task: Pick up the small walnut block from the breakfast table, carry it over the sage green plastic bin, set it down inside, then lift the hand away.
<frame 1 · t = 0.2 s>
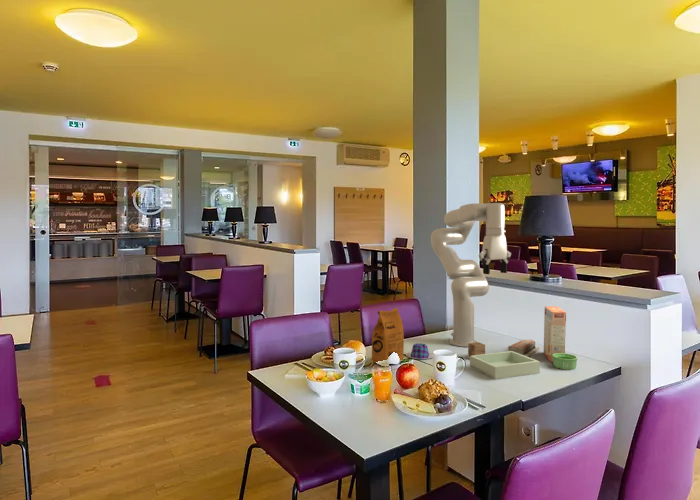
hand: (495, 273, 198), 36 cm above the table, tool pointing down, fingers open, 9 cm apart
ramekin: (564, 367, 186), on the table
walnut block: (476, 357, 199), on the table
cracker box: (554, 358, 198), on the table
purple plaid hat: (419, 357, 203), on the table
packaged product: (522, 353, 208), on the table
bin: (504, 370, 183), on the table
coffee package: (387, 363, 193), on the table
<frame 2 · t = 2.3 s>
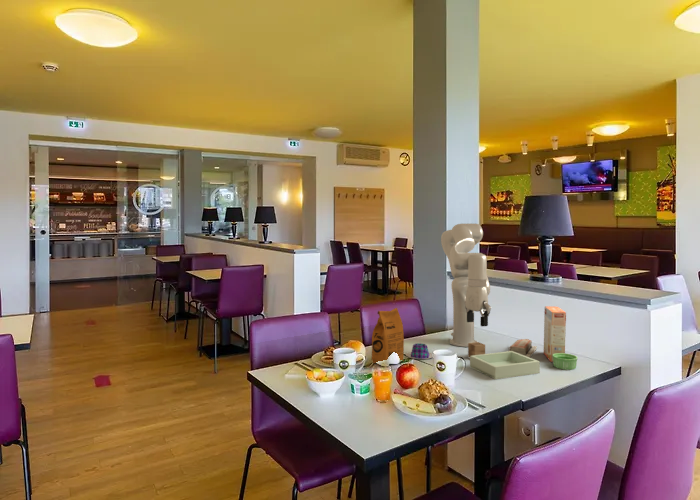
hand: (477, 324, 198), 15 cm above the table, tool pointing down, fingers open, 9 cm apart
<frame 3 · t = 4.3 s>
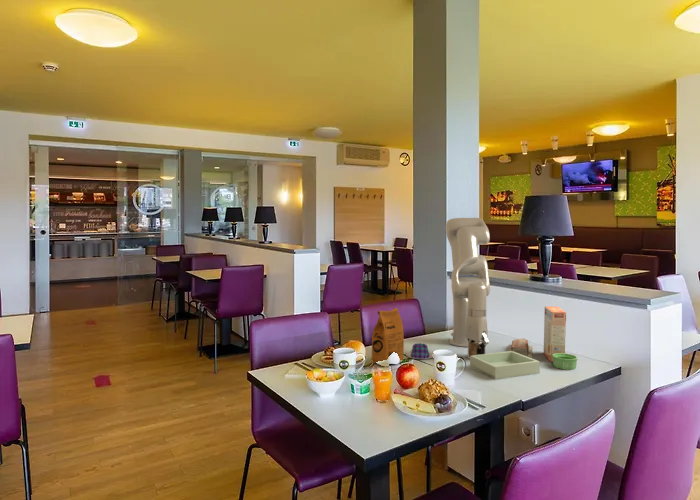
hand: (476, 355, 199), 1 cm above the table, tool pointing down, fingers closed on walnut block, 5 cm apart
walnut block: (476, 357, 199), on the table, touching gripper
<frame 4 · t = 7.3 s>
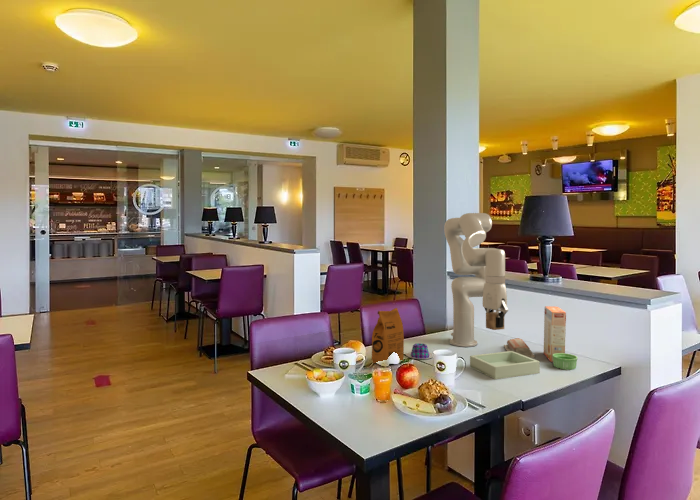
hand: (495, 325, 187), 16 cm above the table, tool pointing down, fingers closed on walnut block, 4 cm apart
walnut block: (495, 328, 187), point 15 cm above the table, touching gripper
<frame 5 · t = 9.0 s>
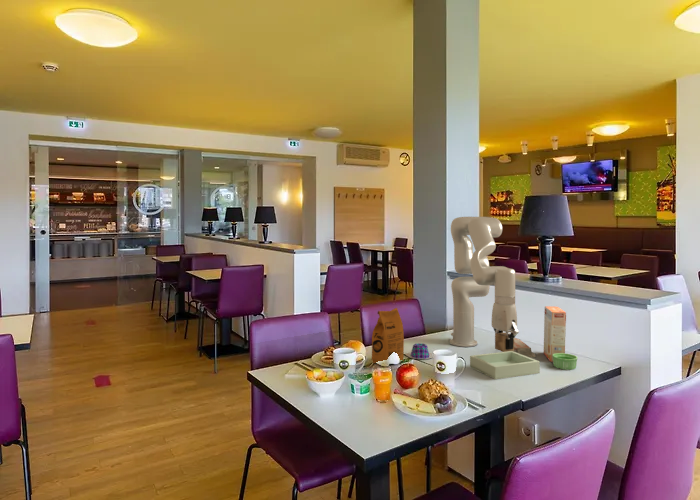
hand: (504, 347, 182), 9 cm above the table, tool pointing down, fingers closed on walnut block, 4 cm apart
walnut block: (504, 349, 182), point 8 cm above the table, touching gripper
when the fingers open (4 cm above the table, at t = 10.3 s): walnut block drops 2 cm, resting on bin.
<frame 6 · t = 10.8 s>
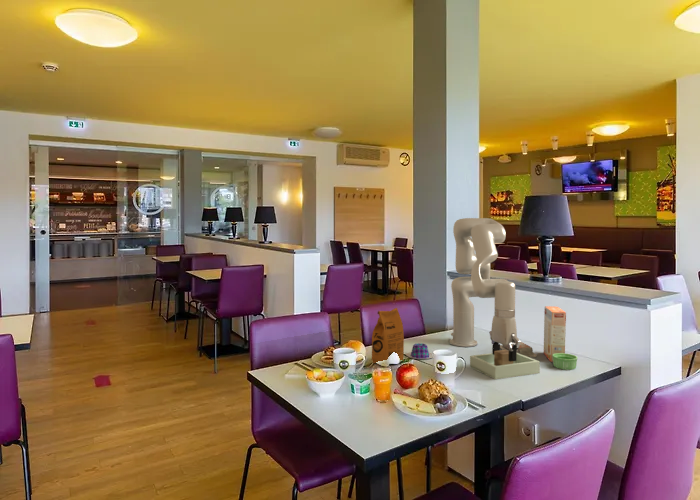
hand: (504, 357, 182), 5 cm above the table, tool pointing down, fingers open, 9 cm apart
walnut block: (503, 367, 183), point 1 cm above the table, touching bin
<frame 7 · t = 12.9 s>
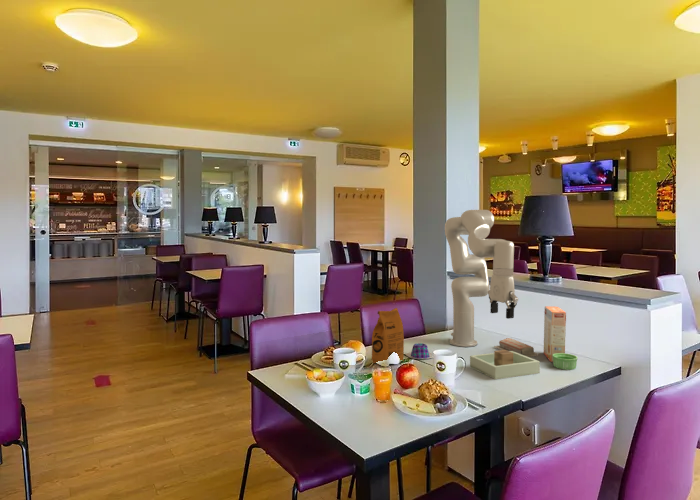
hand: (501, 315, 186), 20 cm above the table, tool pointing down, fingers open, 9 cm apart
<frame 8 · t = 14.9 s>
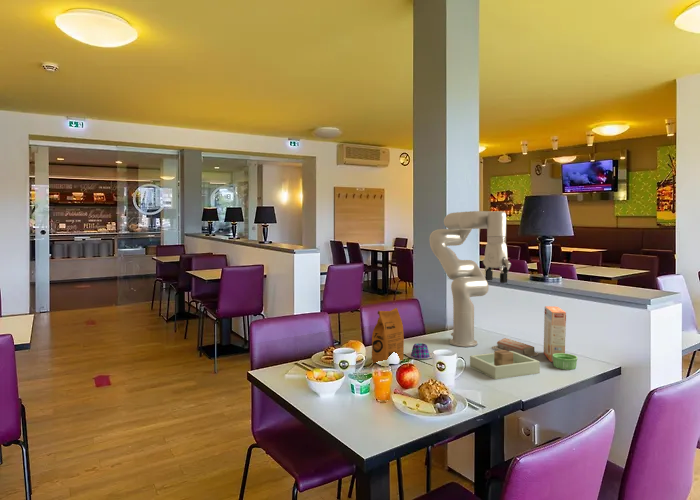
hand: (496, 281, 198), 32 cm above the table, tool pointing down, fingers open, 9 cm apart
at the end: walnut block inside the target area on the bin (0.2 cm from its centre), point 1.0 cm above the bin's base; walnut block tilted 0°; the gripper is holding nothing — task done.
